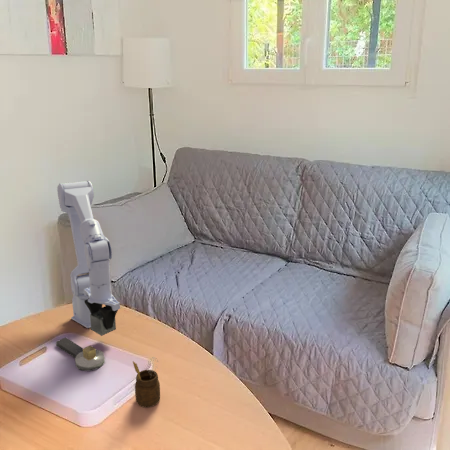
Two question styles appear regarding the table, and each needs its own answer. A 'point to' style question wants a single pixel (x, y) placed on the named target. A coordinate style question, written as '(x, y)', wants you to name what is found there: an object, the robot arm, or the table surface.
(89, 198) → the robot arm
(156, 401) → the utensil holder
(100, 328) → the hollow square tube
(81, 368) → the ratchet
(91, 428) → the table surface
